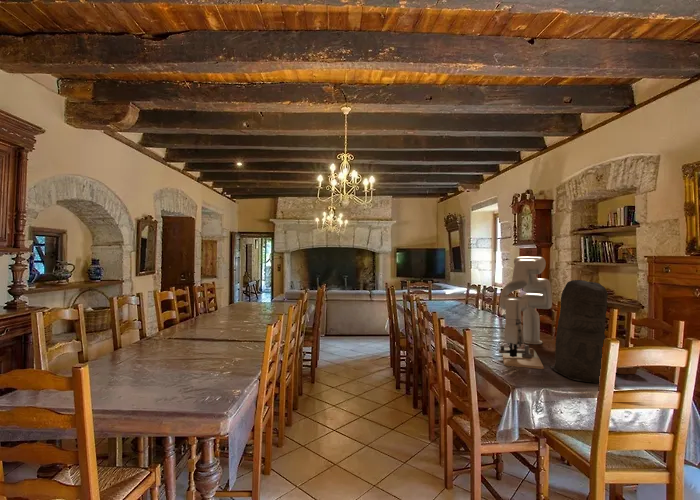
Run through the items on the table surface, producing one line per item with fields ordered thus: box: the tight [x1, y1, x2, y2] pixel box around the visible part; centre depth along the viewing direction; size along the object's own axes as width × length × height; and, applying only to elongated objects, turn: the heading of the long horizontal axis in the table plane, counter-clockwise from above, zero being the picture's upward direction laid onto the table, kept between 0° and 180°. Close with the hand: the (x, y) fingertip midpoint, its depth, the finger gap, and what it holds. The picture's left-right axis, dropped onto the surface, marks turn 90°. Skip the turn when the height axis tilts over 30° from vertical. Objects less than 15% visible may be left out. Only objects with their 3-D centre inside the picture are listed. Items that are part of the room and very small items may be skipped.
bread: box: [616, 367, 638, 375], centre depth 185 cm, size 19×11×10 cm, turn 1°
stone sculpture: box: [549, 279, 609, 384], centre depth 171 cm, size 24×21×45 cm
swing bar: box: [498, 345, 525, 354], centre depth 202 cm, size 13×2×4 cm, turn 88°
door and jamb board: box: [501, 344, 545, 370], centre depth 203 cm, size 34×18×8 cm, turn 160°
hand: (513, 356), depth 198 cm, fingers closed
